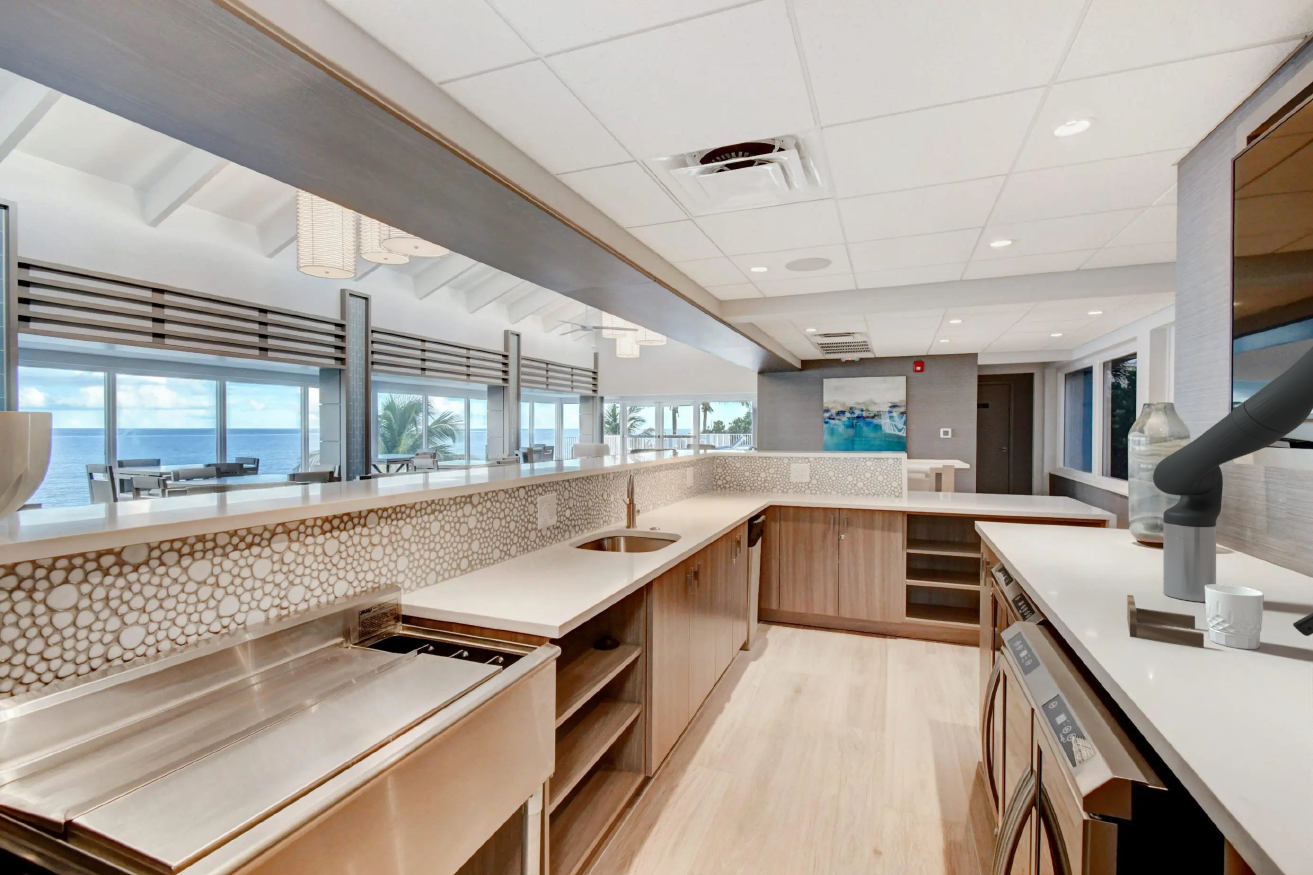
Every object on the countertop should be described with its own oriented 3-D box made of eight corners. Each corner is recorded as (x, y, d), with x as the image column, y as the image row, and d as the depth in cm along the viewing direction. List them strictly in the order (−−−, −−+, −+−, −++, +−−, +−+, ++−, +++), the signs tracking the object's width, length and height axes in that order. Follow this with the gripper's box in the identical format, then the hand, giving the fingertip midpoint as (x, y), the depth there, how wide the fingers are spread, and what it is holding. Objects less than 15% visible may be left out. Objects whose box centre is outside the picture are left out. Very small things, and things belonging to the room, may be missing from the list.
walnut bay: (1127, 618, 124) (1127, 594, 124) (1194, 627, 117) (1194, 603, 117) (1129, 636, 113) (1129, 610, 113) (1203, 647, 107) (1203, 620, 107)
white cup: (1276, 652, 105) (1276, 596, 105) (1224, 649, 106) (1224, 594, 106) (1241, 636, 112) (1242, 584, 112) (1194, 634, 114) (1194, 583, 114)
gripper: (1367, 546, 104) (1268, 604, 111) (1398, 560, 93) (1286, 623, 101) (1415, 581, 100) (1309, 637, 108) (1452, 599, 90) (1332, 660, 97)
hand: (1298, 630), depth 104 cm, fingers closed
